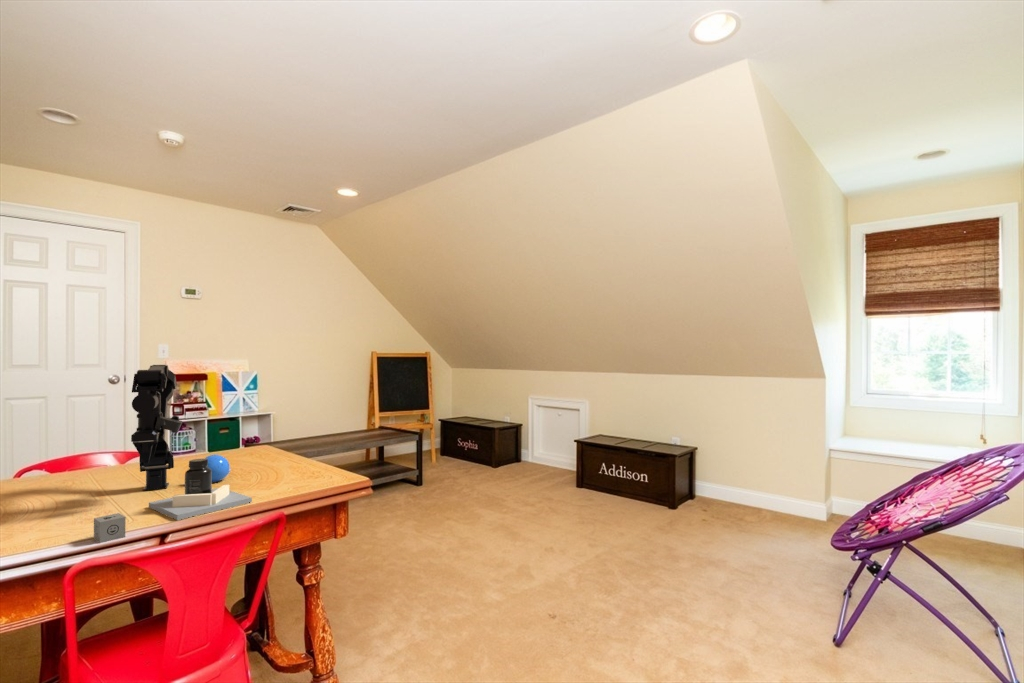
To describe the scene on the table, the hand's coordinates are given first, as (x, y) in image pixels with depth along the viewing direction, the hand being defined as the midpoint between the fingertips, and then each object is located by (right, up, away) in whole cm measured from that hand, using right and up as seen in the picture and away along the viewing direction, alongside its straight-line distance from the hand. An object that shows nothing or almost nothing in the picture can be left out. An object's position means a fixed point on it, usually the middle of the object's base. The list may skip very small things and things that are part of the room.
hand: (149, 460), depth 157 cm
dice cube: (+14, -12, -33) cm, 38 cm away
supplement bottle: (+20, -11, -7) cm, 23 cm away
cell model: (+8, -13, +22) cm, 26 cm away
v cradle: (+20, -12, -7) cm, 24 cm away
